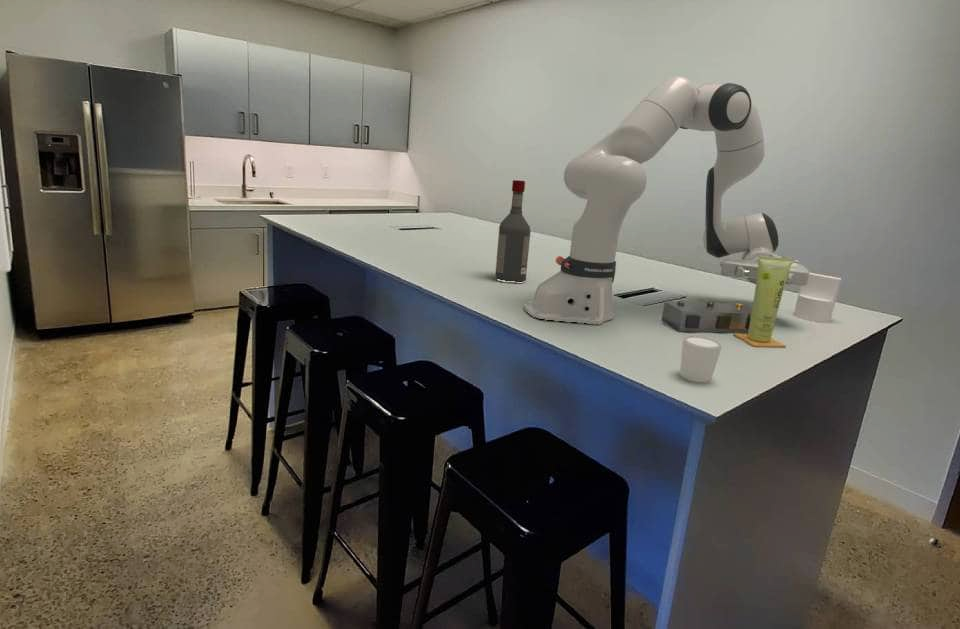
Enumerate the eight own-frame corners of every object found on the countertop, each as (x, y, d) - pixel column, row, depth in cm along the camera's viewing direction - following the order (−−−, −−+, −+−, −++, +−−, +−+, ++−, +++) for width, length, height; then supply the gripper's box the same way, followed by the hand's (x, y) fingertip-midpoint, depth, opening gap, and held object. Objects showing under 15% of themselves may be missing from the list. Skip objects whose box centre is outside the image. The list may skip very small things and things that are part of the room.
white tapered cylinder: (710, 387, 101) (718, 351, 99) (672, 377, 105) (678, 341, 103) (717, 376, 107) (725, 341, 105) (681, 366, 110) (687, 333, 108)
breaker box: (680, 332, 133) (684, 309, 131) (661, 320, 142) (665, 298, 140) (763, 334, 136) (768, 312, 135) (740, 322, 145) (744, 301, 144)
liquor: (495, 282, 169) (504, 180, 160) (495, 275, 177) (502, 178, 169) (525, 284, 169) (535, 182, 160) (523, 277, 178) (533, 181, 169)
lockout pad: (754, 347, 126) (754, 345, 126) (733, 335, 134) (733, 333, 133) (785, 347, 127) (786, 345, 127) (763, 335, 135) (763, 334, 135)
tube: (762, 344, 127) (782, 259, 121) (741, 338, 131) (759, 255, 125) (774, 340, 130) (793, 258, 125) (753, 334, 134) (770, 254, 128)
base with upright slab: (789, 316, 155) (799, 274, 152) (798, 311, 162) (808, 270, 158) (826, 324, 149) (837, 281, 146) (833, 319, 156) (844, 277, 152)
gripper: (721, 251, 152) (723, 258, 140) (805, 261, 146) (815, 270, 133) (717, 273, 154) (718, 283, 142) (800, 284, 148) (809, 295, 135)
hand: (766, 277), depth 138 cm, fingers open, 8 cm apart
